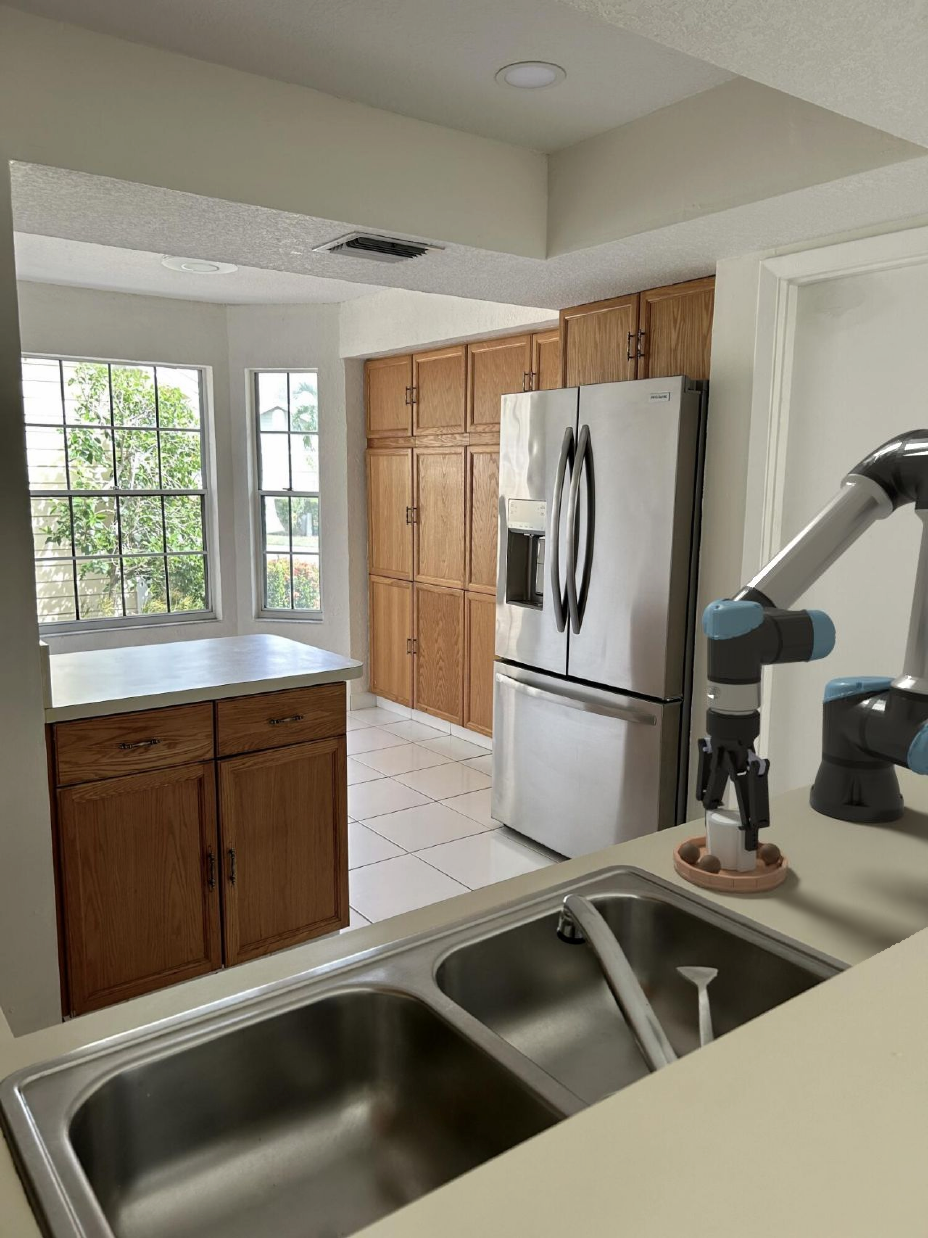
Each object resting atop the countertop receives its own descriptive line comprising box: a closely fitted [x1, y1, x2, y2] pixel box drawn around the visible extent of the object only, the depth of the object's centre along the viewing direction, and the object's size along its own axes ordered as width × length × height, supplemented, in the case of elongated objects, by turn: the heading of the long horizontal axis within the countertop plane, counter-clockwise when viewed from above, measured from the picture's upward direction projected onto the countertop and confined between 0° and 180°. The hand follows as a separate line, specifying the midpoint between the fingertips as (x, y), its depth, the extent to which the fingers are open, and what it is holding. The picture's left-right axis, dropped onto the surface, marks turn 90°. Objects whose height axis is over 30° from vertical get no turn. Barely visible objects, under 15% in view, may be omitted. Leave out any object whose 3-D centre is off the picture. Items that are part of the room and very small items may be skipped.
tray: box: [672, 834, 789, 894], centre depth 135 cm, size 16×16×2 cm
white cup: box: [706, 809, 750, 870], centre depth 134 cm, size 7×7×7 cm
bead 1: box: [680, 843, 700, 864], centre depth 135 cm, size 3×3×3 cm
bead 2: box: [699, 855, 721, 874], centre depth 130 cm, size 3×3×3 cm
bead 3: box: [759, 842, 781, 864], centre depth 134 cm, size 3×3×3 cm
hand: (730, 860), depth 135 cm, fingers closed on white cup, 7 cm apart
